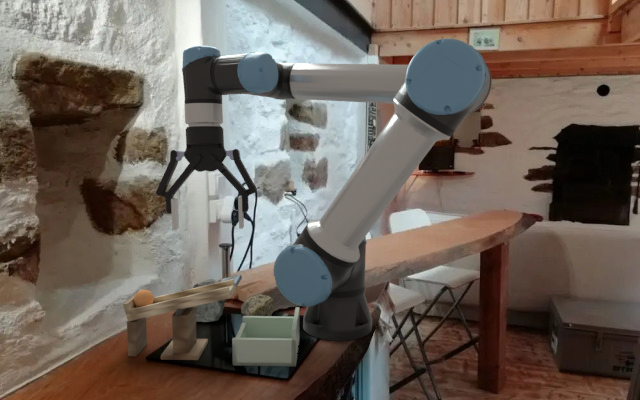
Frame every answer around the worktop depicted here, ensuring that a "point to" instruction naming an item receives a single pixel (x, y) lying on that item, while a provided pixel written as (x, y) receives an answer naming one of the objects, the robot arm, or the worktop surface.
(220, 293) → the lever
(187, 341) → the fulcrum
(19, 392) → the worktop surface
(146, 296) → the brown egg
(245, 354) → the bin
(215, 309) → the stone
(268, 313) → the rock
